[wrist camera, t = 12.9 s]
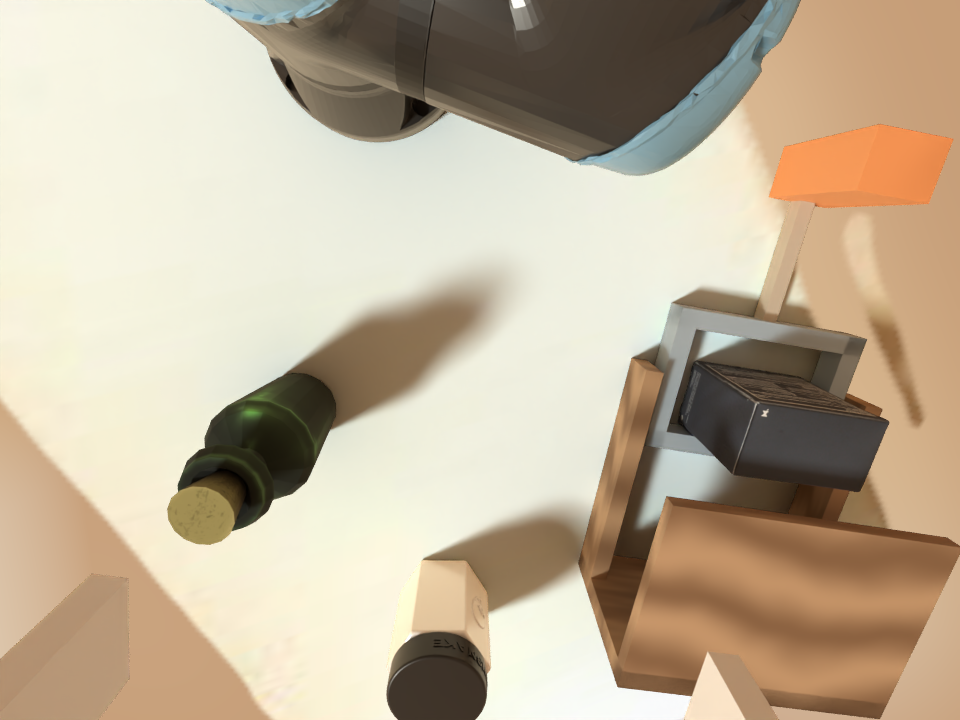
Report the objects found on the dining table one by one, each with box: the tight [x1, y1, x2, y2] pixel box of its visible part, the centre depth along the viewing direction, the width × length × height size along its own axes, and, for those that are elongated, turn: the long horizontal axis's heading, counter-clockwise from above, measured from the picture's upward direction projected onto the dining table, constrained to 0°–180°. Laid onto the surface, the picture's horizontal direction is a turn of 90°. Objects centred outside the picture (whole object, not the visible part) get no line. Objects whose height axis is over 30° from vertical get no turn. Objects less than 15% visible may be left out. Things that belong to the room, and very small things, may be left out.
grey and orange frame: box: [644, 124, 953, 456], centre depth 40 cm, size 27×16×10 cm, turn 170°
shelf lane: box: [578, 358, 960, 719], centre depth 43 cm, size 22×21×14 cm
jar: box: [386, 560, 491, 720], centre depth 46 cm, size 9×8×12 cm
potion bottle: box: [167, 373, 336, 545], centre depth 38 cm, size 8×8×18 cm
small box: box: [678, 361, 889, 492], centre depth 42 cm, size 11×6×10 cm, turn 81°
